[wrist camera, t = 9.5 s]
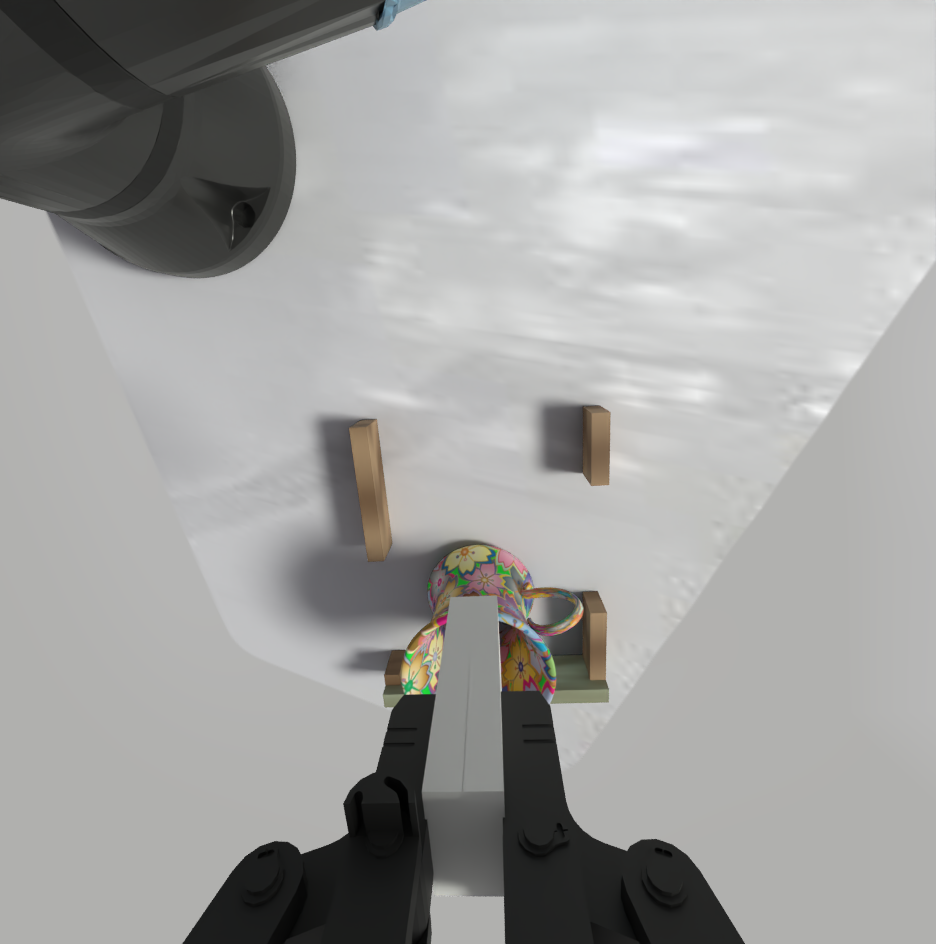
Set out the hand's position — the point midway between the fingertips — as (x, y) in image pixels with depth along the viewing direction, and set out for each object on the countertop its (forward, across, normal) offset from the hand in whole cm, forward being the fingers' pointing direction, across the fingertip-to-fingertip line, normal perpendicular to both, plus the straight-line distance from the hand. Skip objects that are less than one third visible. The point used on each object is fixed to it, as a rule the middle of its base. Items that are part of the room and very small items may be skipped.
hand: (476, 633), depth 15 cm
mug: (+21, 0, -10) cm, 23 cm away
